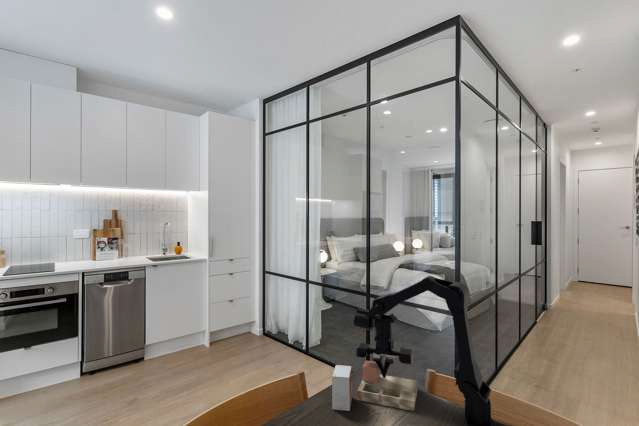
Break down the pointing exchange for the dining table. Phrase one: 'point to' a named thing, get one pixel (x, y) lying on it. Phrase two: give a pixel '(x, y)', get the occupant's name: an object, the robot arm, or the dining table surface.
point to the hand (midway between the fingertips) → (384, 377)
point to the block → (371, 372)
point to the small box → (342, 388)
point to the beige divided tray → (390, 392)
